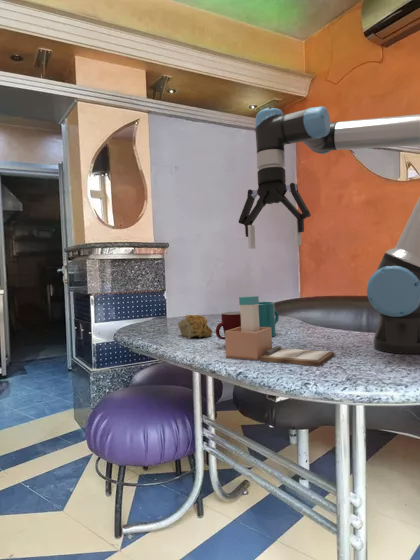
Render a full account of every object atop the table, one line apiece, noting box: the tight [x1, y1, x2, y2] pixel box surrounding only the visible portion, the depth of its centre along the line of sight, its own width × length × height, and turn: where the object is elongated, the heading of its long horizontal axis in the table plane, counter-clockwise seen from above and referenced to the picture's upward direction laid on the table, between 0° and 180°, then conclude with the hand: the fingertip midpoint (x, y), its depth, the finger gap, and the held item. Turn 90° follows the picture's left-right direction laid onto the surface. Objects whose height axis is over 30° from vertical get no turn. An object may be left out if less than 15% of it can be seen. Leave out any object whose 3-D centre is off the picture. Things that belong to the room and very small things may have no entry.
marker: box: [238, 295, 260, 332], centre depth 109 cm, size 4×4×15 cm
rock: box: [177, 314, 214, 339], centre depth 144 cm, size 12×9×10 cm
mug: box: [215, 310, 241, 341], centre depth 122 cm, size 11×8×10 cm
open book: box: [259, 345, 335, 367], centre depth 103 cm, size 15×12×2 cm
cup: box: [258, 301, 279, 338], centre depth 139 cm, size 9×12×11 cm
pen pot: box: [224, 326, 273, 361], centre depth 109 cm, size 9×9×7 cm
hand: (274, 247), depth 112 cm, fingers open, 13 cm apart
